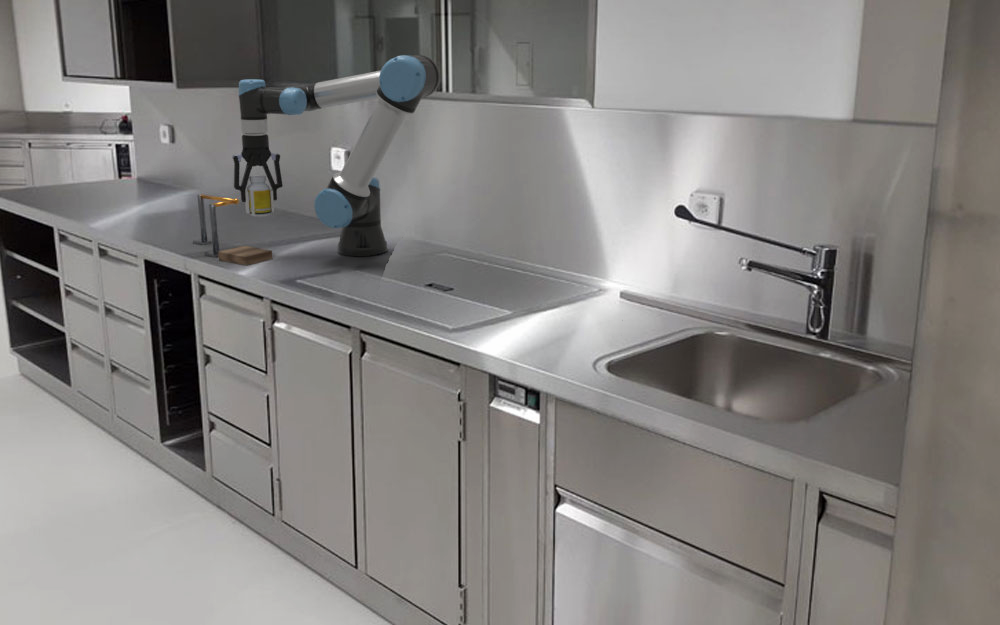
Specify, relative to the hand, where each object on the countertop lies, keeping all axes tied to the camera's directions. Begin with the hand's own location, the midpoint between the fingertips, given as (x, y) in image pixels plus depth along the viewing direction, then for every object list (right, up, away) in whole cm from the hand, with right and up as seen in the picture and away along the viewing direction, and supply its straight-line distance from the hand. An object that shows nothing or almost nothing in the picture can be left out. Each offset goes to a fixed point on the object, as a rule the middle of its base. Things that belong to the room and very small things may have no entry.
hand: (260, 211), depth 277 cm
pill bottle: (0, -1, 0) cm, 1 cm away
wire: (-19, -10, +12) cm, 24 cm away
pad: (-4, -14, -2) cm, 15 cm away
